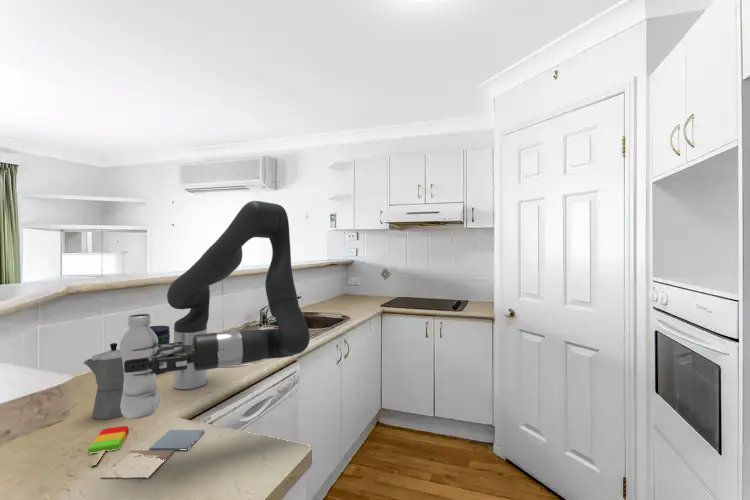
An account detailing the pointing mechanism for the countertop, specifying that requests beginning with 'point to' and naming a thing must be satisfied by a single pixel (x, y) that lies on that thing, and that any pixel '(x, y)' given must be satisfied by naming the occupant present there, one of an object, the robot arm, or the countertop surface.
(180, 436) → the slate pad
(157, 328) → the storage jar
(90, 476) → the countertop surface
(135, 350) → the plastic bottle
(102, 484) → the countertop surface
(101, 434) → the popsicle
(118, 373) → the coffeepot
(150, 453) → the tile
